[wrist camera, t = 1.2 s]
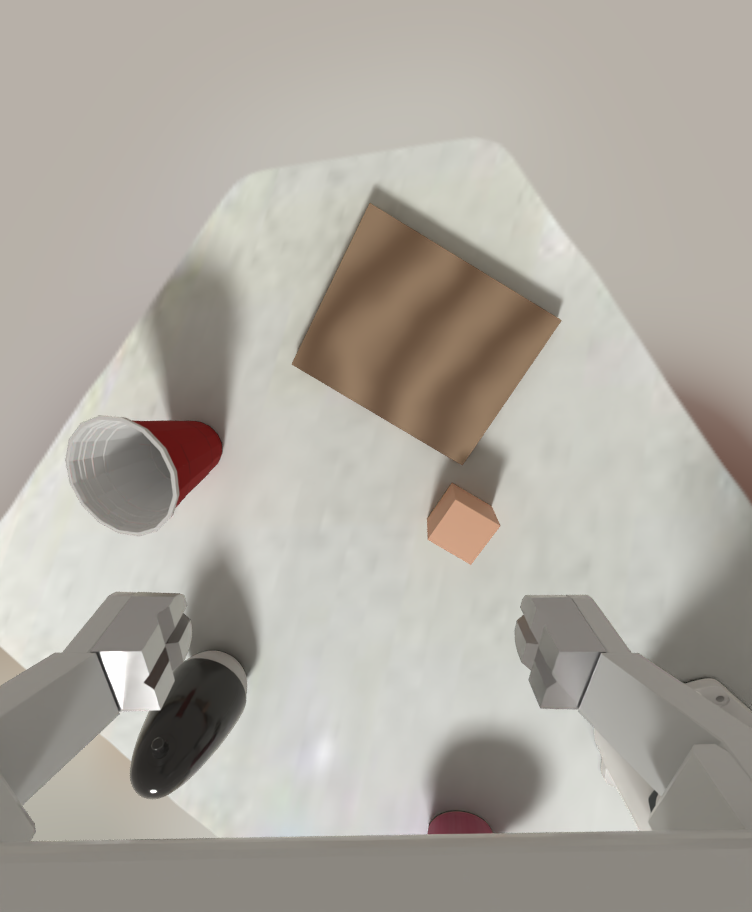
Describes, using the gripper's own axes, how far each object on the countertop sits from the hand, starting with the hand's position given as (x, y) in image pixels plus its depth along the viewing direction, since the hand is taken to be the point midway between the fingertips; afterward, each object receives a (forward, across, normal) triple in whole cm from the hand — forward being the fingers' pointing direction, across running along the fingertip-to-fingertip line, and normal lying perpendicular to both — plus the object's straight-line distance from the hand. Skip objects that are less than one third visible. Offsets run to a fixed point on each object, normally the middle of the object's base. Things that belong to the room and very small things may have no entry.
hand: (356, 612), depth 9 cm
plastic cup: (+34, -19, -11) cm, 40 cm away
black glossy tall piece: (+29, -18, -41) cm, 53 cm away
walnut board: (+32, +6, +2) cm, 33 cm away
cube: (+28, +11, -16) cm, 34 cm away
